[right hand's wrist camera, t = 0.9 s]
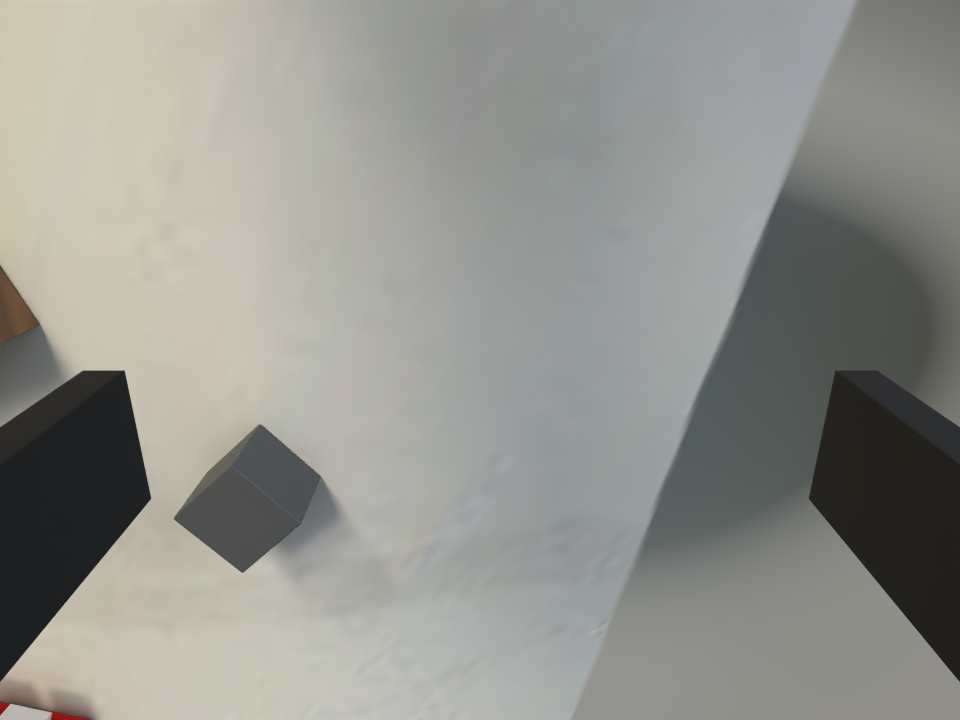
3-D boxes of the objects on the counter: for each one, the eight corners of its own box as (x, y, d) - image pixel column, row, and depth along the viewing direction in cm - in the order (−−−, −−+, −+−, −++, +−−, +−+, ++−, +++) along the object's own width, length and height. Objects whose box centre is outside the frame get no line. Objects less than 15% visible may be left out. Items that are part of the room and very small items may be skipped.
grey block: (207, 472, 42) (172, 519, 37) (260, 423, 40) (231, 465, 36) (268, 522, 43) (242, 573, 38) (321, 476, 42) (301, 523, 37)
